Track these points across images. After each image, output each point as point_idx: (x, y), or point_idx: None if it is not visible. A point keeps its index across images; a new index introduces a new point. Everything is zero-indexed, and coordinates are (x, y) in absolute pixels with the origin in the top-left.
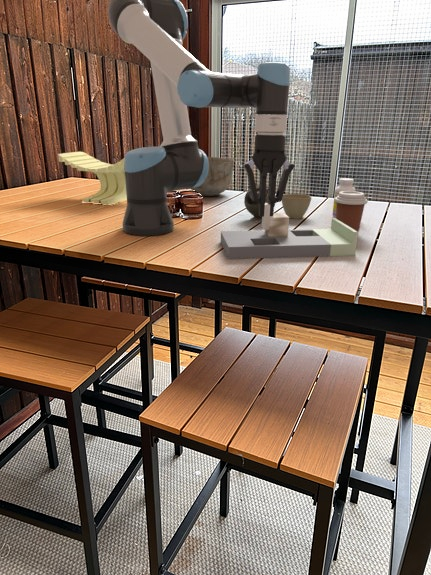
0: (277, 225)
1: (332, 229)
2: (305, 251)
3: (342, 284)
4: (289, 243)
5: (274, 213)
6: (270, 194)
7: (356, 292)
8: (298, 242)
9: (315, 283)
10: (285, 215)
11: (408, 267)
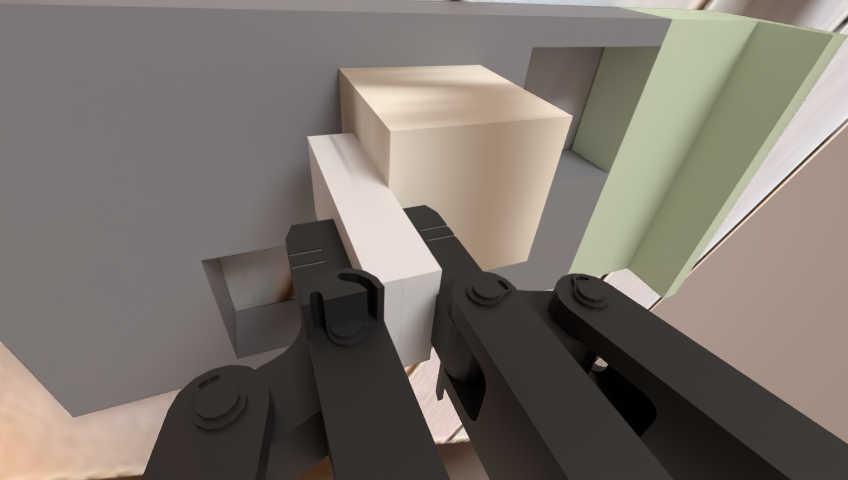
0: None
1: (745, 52)
2: None
3: (450, 413)
4: None
5: (477, 136)
6: (489, 470)
7: (455, 431)
8: None
9: None
10: (531, 210)
11: (639, 302)
